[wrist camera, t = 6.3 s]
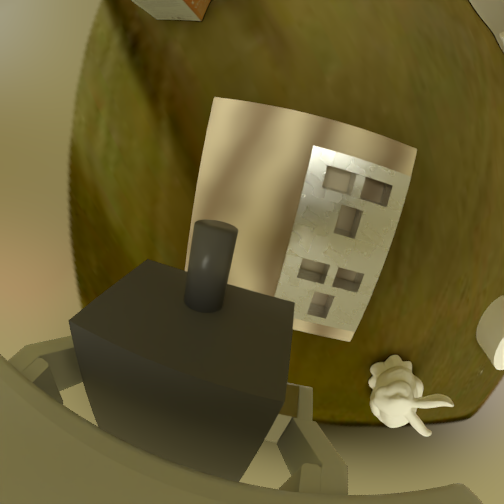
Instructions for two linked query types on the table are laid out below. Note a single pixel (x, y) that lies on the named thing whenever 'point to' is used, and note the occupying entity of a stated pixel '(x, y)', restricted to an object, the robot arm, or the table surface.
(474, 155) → the table surface
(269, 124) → the board
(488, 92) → the table surface
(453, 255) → the table surface
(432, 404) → the rabbit
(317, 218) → the socket
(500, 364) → the cylinder with rectangular tab
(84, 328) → the plug
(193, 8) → the small box
